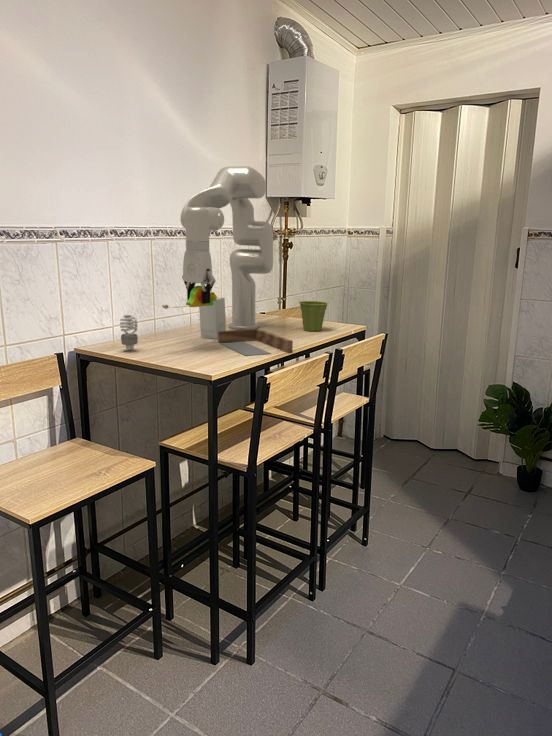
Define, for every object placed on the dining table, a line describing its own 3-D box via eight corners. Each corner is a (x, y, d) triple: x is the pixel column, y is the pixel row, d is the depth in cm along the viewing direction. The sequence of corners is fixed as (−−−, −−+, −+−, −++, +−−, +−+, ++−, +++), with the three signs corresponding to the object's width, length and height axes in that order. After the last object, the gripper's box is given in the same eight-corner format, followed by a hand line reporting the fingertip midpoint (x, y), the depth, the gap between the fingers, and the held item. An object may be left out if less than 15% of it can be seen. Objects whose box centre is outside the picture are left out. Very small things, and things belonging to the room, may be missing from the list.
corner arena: (218, 342, 206) (218, 331, 205) (258, 339, 213) (258, 328, 212) (249, 356, 184) (249, 344, 183) (292, 352, 191) (292, 340, 190)
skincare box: (226, 337, 216) (226, 297, 212) (216, 339, 211) (216, 299, 207) (209, 334, 220) (208, 295, 217) (198, 337, 215) (198, 297, 212)
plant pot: (326, 333, 228) (328, 304, 225) (297, 332, 229) (297, 303, 227) (327, 328, 239) (328, 301, 237) (299, 327, 241) (300, 300, 238)
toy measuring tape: (221, 305, 192) (221, 285, 191) (167, 310, 181) (167, 289, 180) (211, 303, 197) (211, 284, 196) (159, 307, 186) (158, 287, 185)
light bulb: (117, 350, 189) (115, 314, 187) (132, 348, 194) (130, 312, 191) (127, 353, 186) (125, 316, 183) (142, 351, 190) (140, 314, 187)
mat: (220, 344, 203) (220, 343, 203) (243, 342, 207) (243, 341, 207) (245, 356, 185) (245, 355, 185) (270, 353, 189) (270, 353, 189)
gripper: (172, 246, 189) (173, 300, 194) (205, 248, 178) (206, 306, 182) (190, 245, 194) (191, 298, 199) (224, 247, 183) (224, 304, 187)
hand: (198, 301), depth 190 cm, fingers closed on toy measuring tape, 6 cm apart
